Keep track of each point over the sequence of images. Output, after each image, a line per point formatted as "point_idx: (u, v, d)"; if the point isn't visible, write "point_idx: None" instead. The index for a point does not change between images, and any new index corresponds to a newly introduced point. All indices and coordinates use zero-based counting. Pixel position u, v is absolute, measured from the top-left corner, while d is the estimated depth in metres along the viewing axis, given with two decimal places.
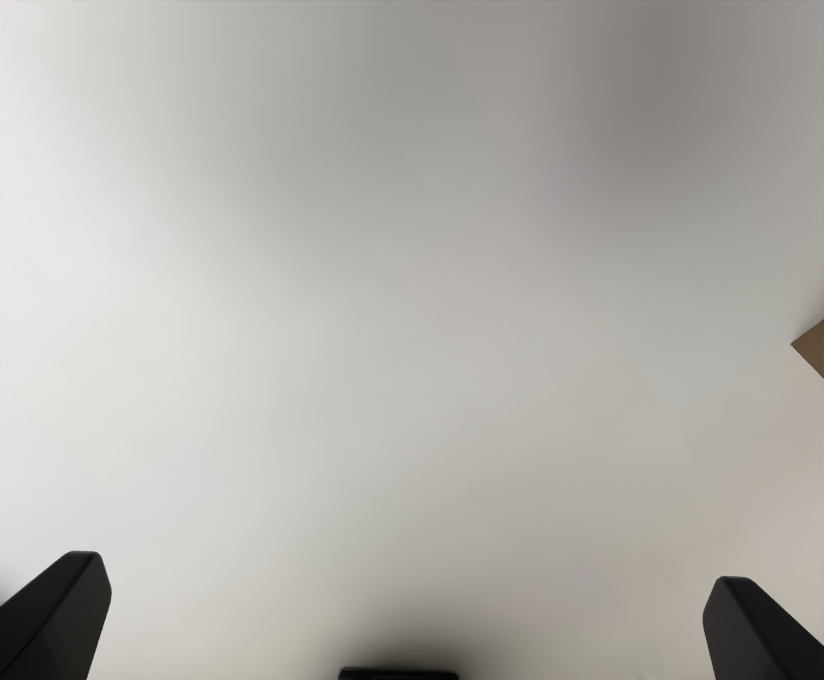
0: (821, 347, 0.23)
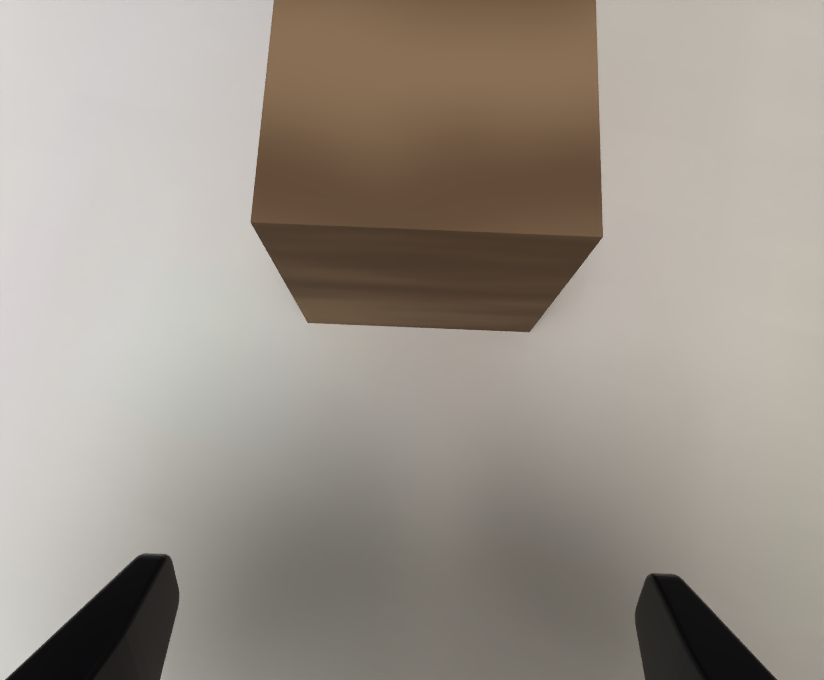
0: None
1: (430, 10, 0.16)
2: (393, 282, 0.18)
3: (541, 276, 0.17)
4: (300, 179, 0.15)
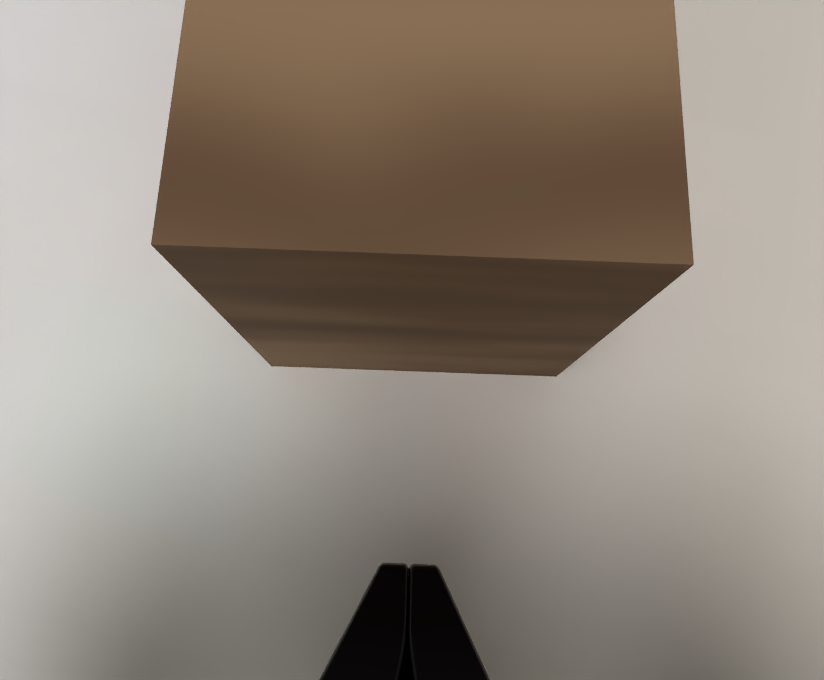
0: None
1: None
2: (376, 322, 0.13)
3: (586, 316, 0.12)
4: (229, 178, 0.10)
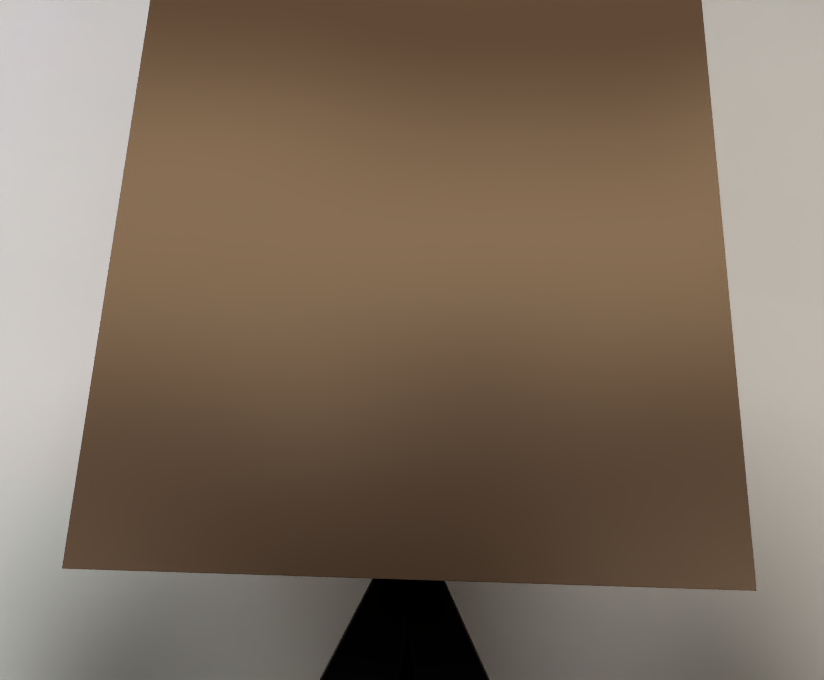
0: None
1: (414, 129, 0.09)
2: None
3: None
4: (164, 473, 0.08)
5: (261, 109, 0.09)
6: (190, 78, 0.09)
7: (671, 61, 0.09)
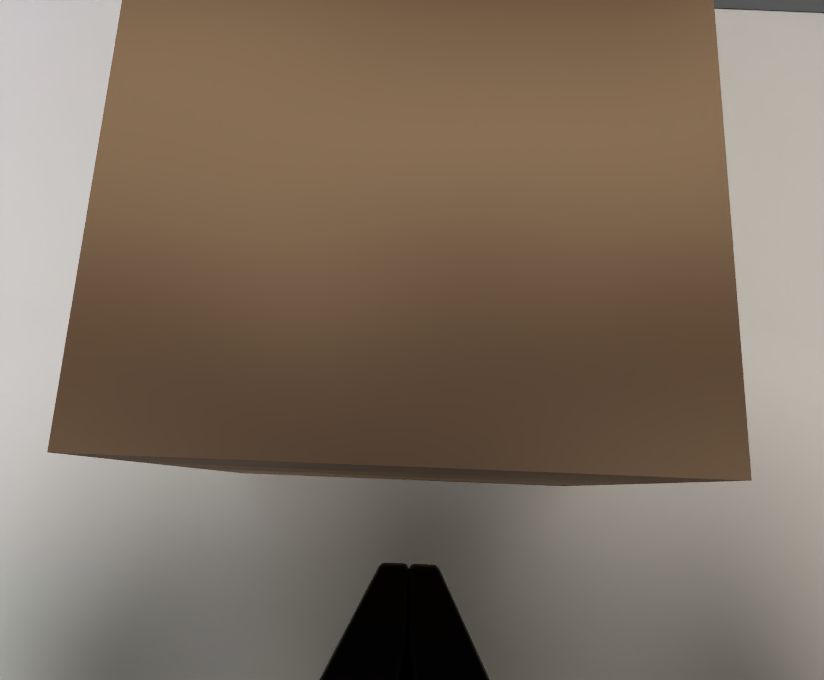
0: None
1: (409, 23, 0.09)
2: (352, 472, 0.11)
3: (605, 481, 0.10)
4: (151, 360, 0.08)
5: (253, 2, 0.09)
6: None
7: None
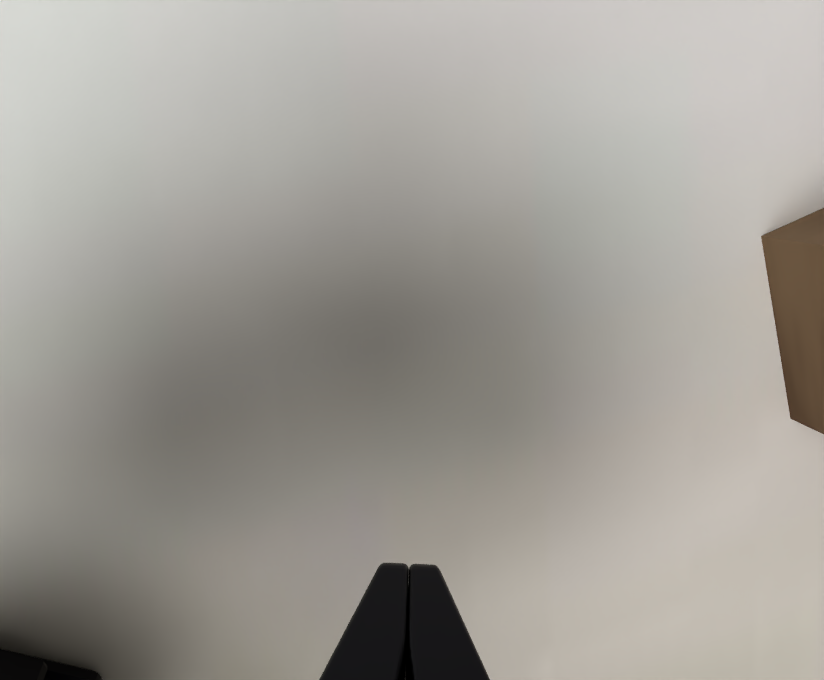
0: (799, 232, 0.23)
1: None
2: None
3: None
4: None
5: None
6: None
7: None
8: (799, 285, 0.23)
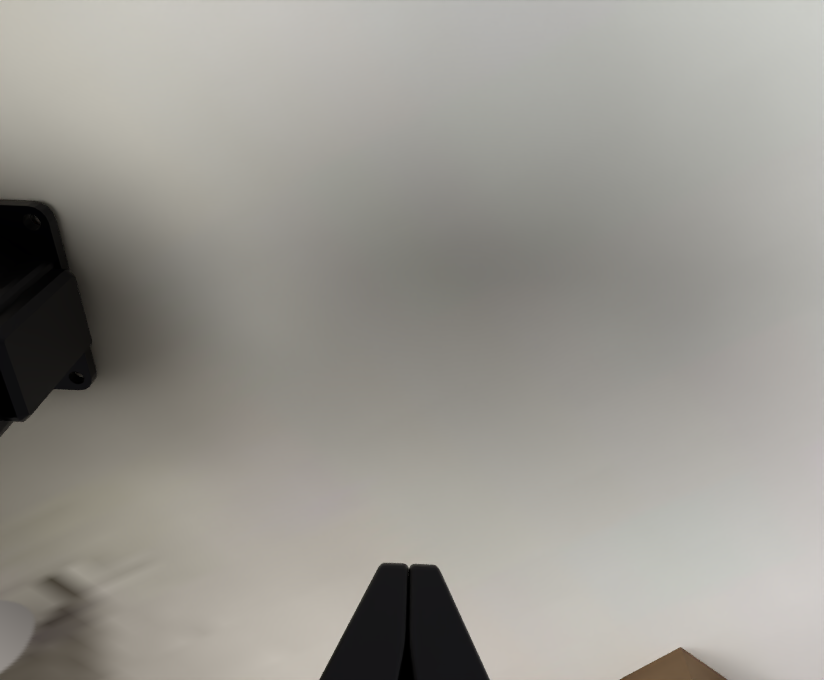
0: (697, 675, 0.29)
1: None
2: None
3: None
4: None
5: None
6: None
7: None
8: None
